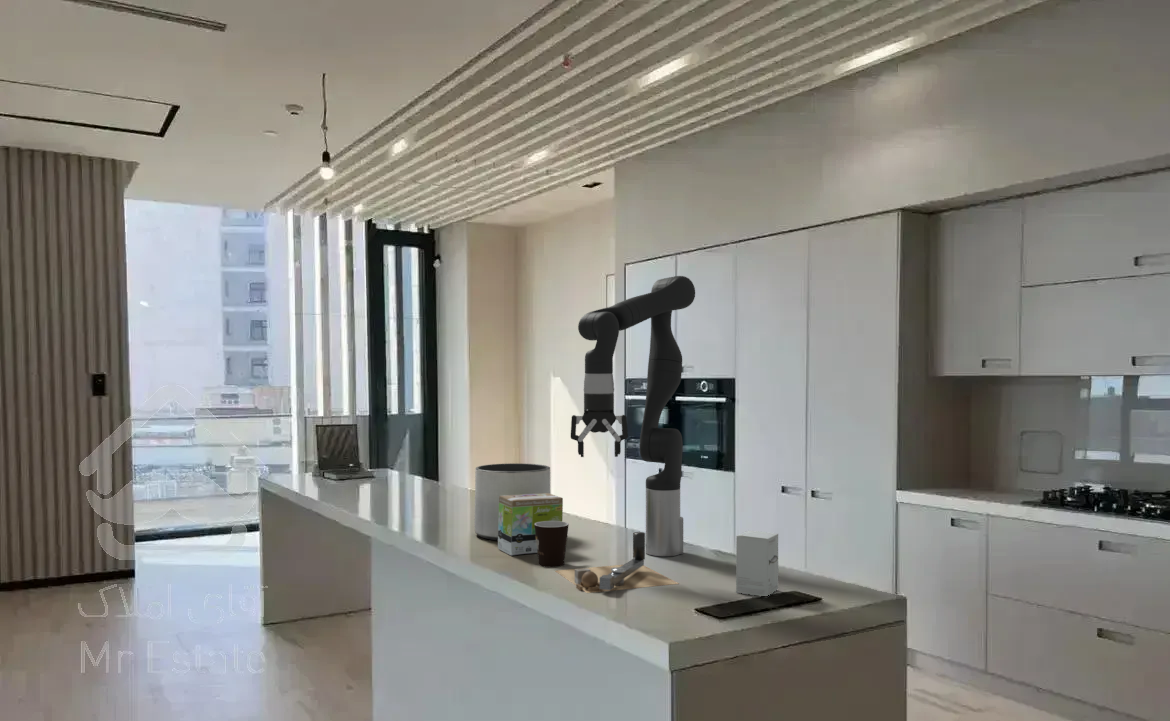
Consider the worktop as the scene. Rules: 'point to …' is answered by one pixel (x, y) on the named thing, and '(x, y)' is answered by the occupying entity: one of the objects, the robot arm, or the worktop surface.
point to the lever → (628, 568)
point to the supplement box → (756, 563)
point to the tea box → (525, 520)
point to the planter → (504, 491)
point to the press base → (634, 580)
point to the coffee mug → (551, 542)
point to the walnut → (589, 579)
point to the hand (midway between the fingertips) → (599, 456)
